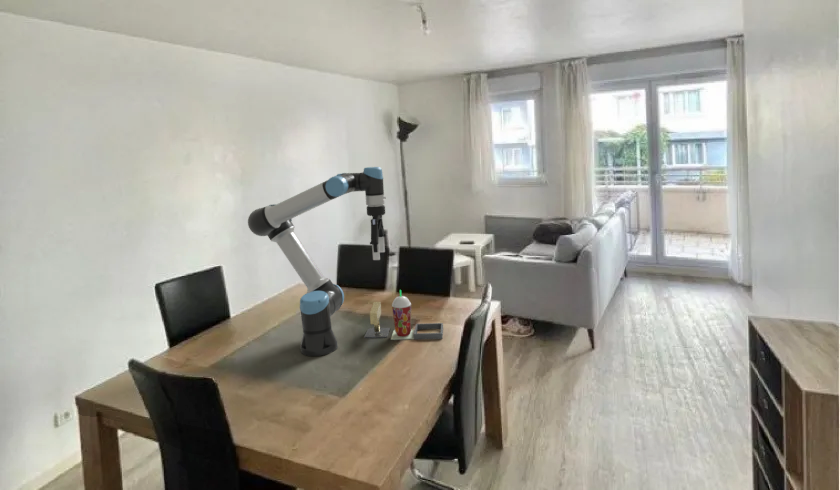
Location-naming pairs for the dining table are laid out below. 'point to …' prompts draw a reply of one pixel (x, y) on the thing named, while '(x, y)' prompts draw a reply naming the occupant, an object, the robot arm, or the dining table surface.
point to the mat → (396, 337)
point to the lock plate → (377, 333)
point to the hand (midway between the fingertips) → (379, 255)
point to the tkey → (375, 315)
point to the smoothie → (402, 315)
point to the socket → (428, 335)
